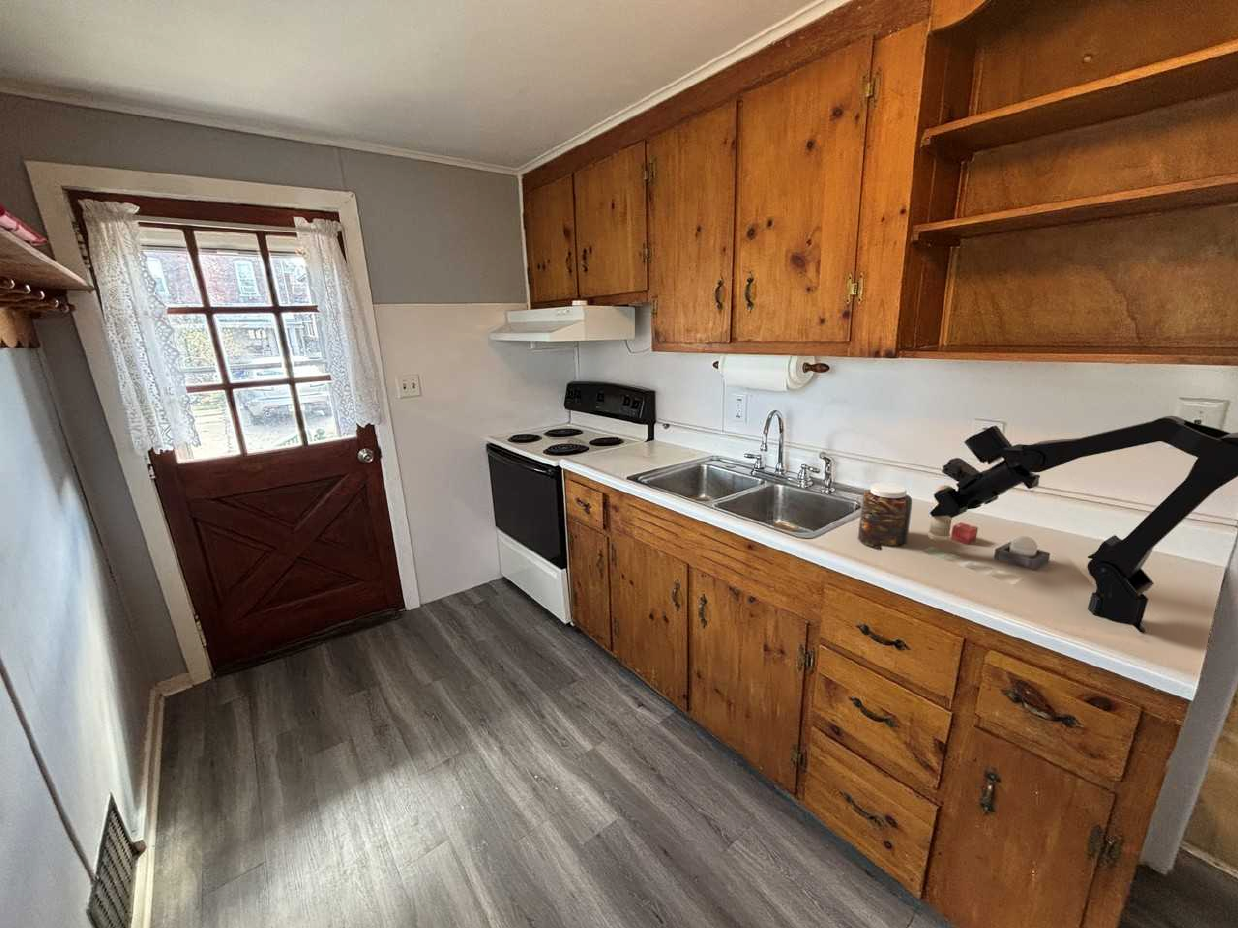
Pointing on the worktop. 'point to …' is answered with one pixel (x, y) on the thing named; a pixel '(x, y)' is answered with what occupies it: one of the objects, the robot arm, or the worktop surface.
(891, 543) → the jar
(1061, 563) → the worktop surface
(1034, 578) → the worktop surface
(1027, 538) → the dome
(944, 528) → the pawn
